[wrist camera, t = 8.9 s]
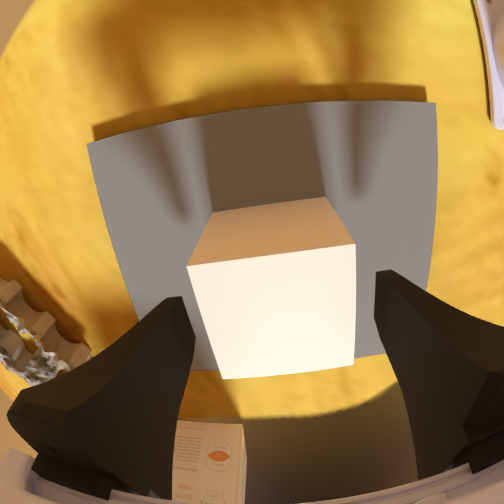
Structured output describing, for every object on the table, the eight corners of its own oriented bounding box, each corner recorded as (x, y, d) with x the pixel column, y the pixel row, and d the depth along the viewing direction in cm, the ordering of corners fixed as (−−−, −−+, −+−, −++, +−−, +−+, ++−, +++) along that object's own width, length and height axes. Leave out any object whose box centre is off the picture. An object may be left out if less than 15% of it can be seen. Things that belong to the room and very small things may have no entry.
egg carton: (-13, 307, 19) (-39, 334, 15) (8, 258, 17) (-28, 287, 13) (73, 391, 22) (55, 424, 19) (112, 362, 20) (91, 403, 16)
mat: (427, 102, 12) (435, 102, 11) (409, 339, 18) (413, 347, 17) (94, 141, 13) (86, 143, 12) (163, 361, 19) (160, 370, 18)
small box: (165, 449, 25) (138, 564, 13) (146, 414, 22) (106, 551, 11) (248, 456, 25) (240, 580, 13) (244, 421, 22) (232, 577, 10)
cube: (325, 196, 13) (355, 243, 9) (332, 293, 15) (353, 364, 11) (212, 212, 14) (186, 266, 9) (234, 305, 16) (222, 379, 11)
